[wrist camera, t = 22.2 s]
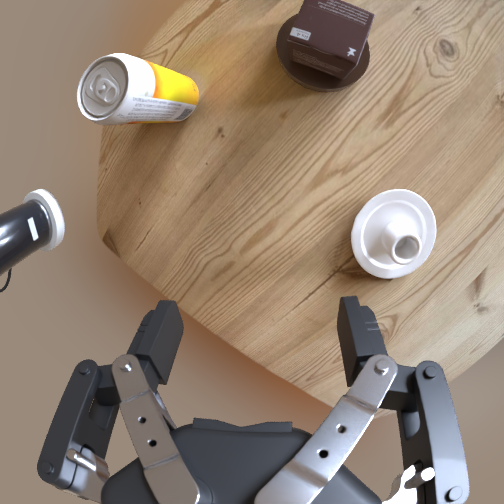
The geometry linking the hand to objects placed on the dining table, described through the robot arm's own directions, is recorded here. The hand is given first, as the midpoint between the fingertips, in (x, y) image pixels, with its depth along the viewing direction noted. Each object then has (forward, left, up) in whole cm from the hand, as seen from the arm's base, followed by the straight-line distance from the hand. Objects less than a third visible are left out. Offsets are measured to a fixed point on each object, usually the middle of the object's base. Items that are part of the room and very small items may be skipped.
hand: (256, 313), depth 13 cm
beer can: (-12, +13, -22) cm, 28 cm away
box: (+6, +18, -19) cm, 27 cm away
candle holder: (+15, -4, -22) cm, 27 cm away
